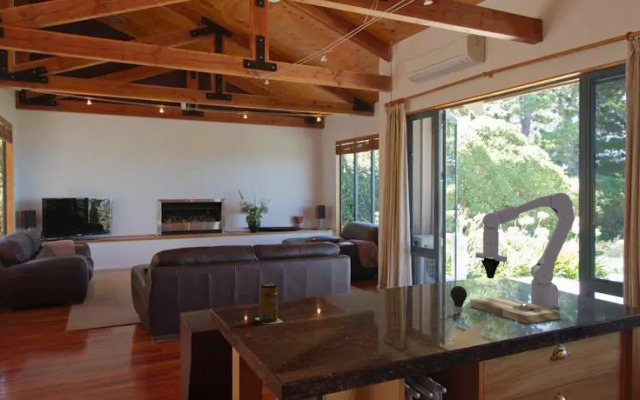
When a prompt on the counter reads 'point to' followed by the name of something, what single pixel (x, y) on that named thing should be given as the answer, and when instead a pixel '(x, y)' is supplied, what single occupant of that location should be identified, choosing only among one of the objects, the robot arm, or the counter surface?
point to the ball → (524, 307)
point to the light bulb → (458, 297)
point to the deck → (515, 309)
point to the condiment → (268, 304)
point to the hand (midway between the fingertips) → (490, 278)
